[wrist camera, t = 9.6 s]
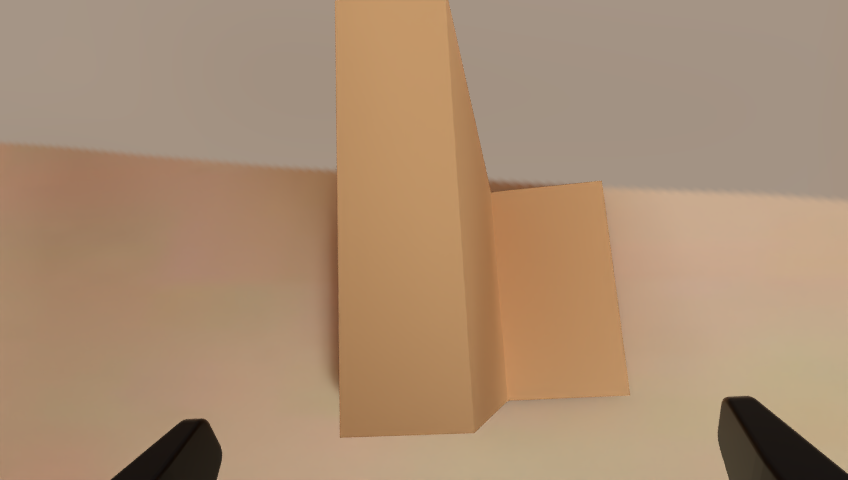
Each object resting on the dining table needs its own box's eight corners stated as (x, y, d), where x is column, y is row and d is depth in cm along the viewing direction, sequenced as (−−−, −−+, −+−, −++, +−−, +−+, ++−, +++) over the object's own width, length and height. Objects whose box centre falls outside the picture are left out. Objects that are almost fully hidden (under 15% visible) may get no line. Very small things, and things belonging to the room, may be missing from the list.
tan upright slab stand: (626, 394, 15) (778, 422, 6) (346, 406, 17) (101, 445, 7) (599, 187, 17) (686, -59, 7) (343, 213, 18) (136, 34, 9)
